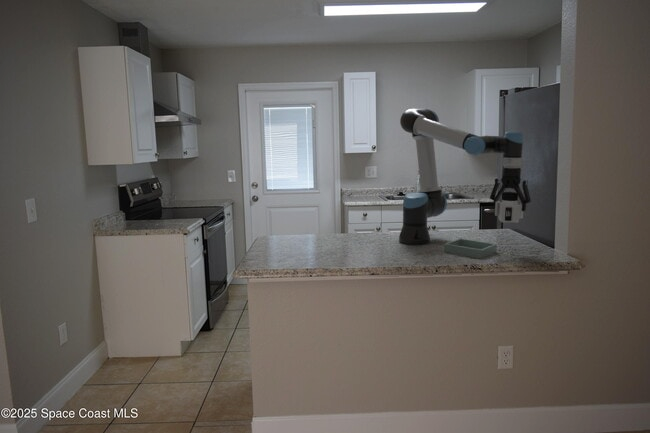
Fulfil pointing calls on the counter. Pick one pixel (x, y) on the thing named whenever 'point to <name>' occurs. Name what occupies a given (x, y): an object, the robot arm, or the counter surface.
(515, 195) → the container
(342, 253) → the counter surface
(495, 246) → the box
